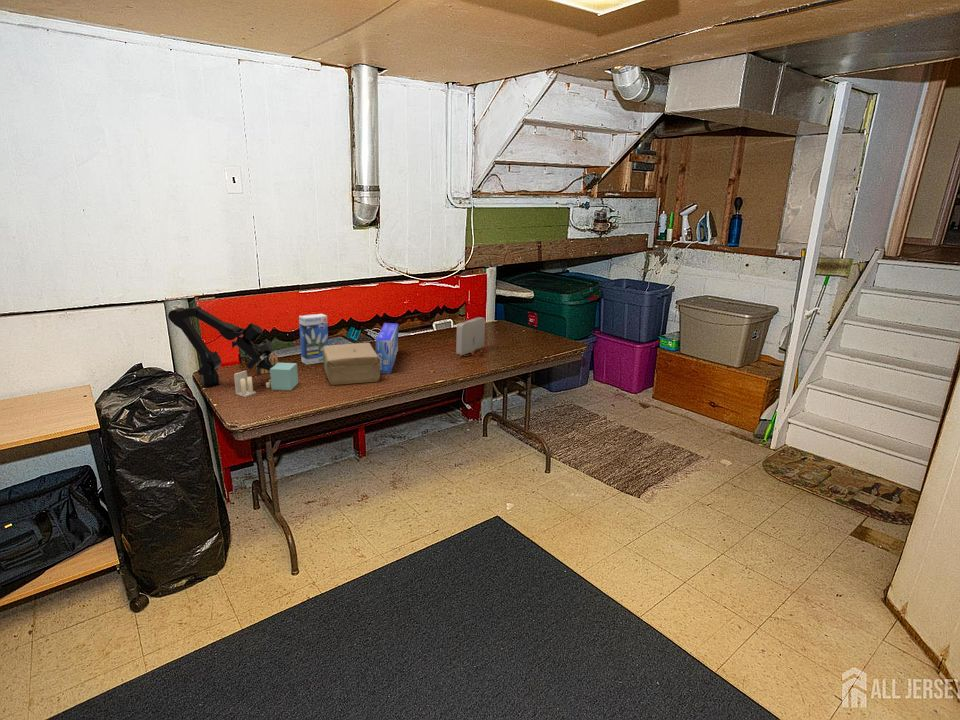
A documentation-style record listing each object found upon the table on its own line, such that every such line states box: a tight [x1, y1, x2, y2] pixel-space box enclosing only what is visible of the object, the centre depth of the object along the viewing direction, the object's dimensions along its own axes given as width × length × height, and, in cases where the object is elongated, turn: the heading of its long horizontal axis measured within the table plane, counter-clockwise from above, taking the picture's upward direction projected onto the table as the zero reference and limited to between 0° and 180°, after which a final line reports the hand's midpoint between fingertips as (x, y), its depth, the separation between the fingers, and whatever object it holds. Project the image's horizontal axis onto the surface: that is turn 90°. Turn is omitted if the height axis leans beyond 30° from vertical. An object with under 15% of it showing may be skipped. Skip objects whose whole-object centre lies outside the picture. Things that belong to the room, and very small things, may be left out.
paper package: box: [322, 342, 381, 386], centre depth 274 cm, size 27×26×14 cm
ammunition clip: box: [255, 350, 279, 376], centre depth 271 cm, size 11×2×12 cm, turn 122°
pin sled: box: [233, 370, 257, 398], centre depth 243 cm, size 6×6×10 cm
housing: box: [269, 362, 299, 391], centre depth 254 cm, size 9×10×10 cm
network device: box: [455, 316, 486, 356], centre depth 320 cm, size 26×9×20 cm, turn 148°
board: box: [265, 378, 271, 388], centre depth 255 cm, size 12×7×3 cm, turn 89°
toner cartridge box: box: [375, 322, 399, 374], centre depth 297 cm, size 39×8×18 cm, turn 3°
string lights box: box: [298, 313, 329, 366], centre depth 292 cm, size 13×8×26 cm, turn 129°
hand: (273, 370), depth 253 cm, fingers closed, pressing on housing
